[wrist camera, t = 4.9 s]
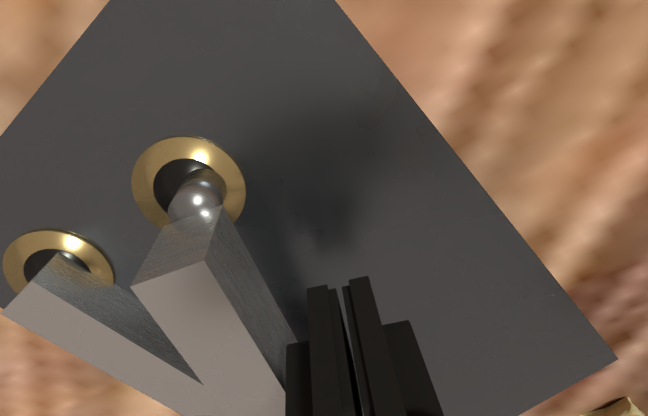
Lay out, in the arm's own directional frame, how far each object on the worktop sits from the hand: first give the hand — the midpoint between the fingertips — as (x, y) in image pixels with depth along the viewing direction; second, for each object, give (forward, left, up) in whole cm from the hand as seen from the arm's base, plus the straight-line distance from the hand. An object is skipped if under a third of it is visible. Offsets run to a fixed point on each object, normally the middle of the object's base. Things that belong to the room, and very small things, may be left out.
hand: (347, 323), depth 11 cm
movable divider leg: (-3, +4, -2) cm, 5 cm away
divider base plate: (-1, +2, -4) cm, 4 cm away
